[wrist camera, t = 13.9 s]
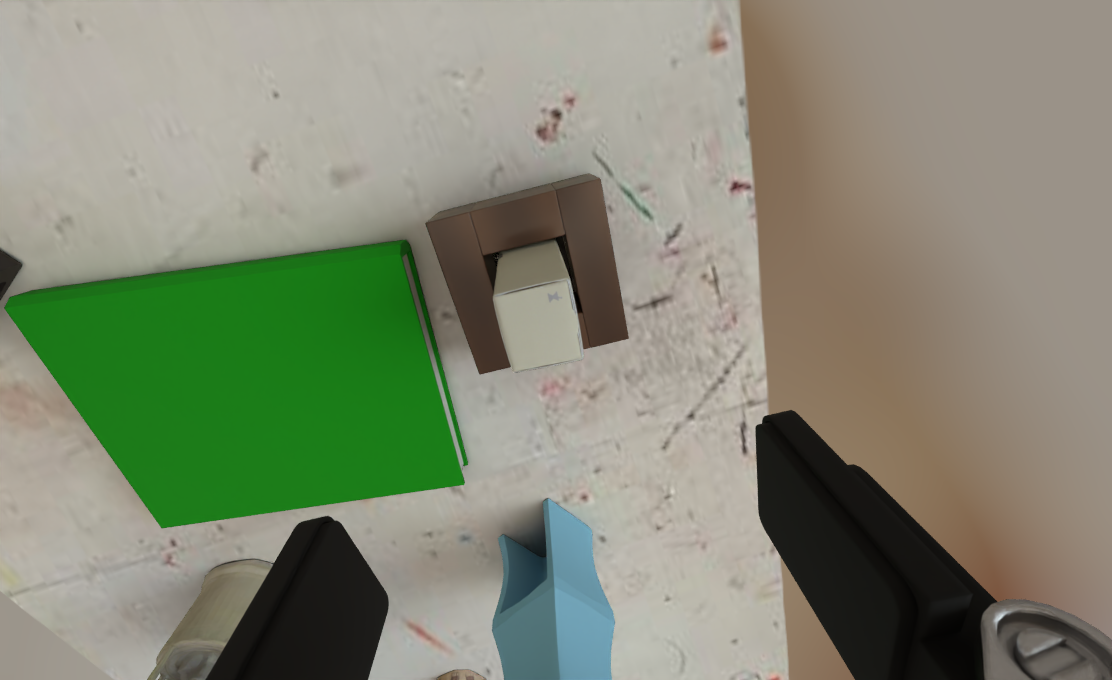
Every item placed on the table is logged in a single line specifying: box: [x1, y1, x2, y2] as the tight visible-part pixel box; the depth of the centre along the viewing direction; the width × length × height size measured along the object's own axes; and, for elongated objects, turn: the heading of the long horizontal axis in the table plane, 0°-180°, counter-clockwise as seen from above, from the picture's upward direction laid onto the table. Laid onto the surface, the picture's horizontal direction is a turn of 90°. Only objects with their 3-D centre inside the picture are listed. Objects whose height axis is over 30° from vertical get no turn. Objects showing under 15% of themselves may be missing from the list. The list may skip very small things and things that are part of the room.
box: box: [493, 238, 584, 373], centre depth 29 cm, size 5×4×13 cm
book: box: [4, 240, 468, 528], centre depth 36 cm, size 22×28×3 cm
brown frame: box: [426, 174, 629, 374], centre depth 33 cm, size 12×12×5 cm
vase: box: [492, 498, 615, 680], centre depth 39 cm, size 8×8×20 cm
